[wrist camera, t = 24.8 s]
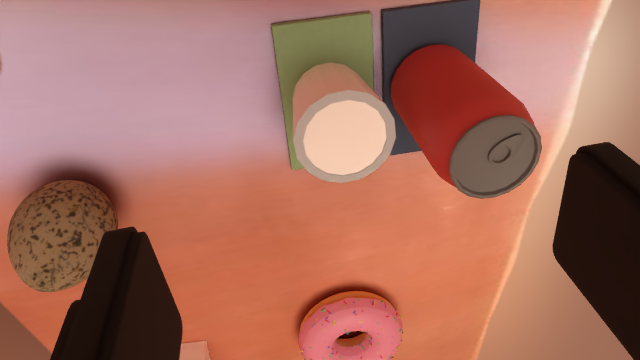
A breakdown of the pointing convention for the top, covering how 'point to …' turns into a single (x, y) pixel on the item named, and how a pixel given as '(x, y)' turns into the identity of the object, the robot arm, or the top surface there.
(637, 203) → the robot arm
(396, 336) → the doughnut
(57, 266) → the decorative egg
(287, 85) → the sage mat
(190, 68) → the top surface
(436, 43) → the slate mat
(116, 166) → the top surface
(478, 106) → the beer can
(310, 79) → the cup
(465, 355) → the top surface
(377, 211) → the top surface
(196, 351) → the milk
